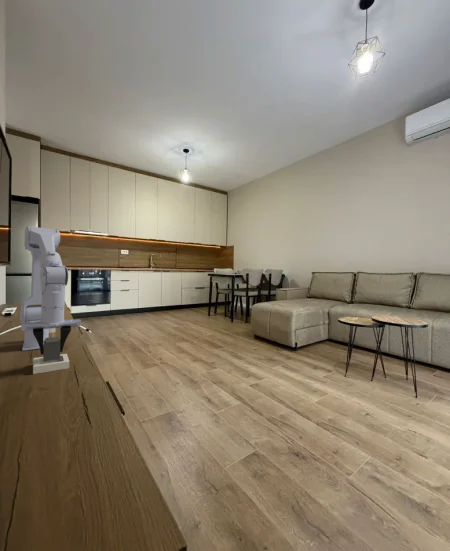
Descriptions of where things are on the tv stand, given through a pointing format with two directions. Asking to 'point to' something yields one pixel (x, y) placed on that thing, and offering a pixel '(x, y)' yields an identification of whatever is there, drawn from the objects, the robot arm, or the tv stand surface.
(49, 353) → the stepped grey plug block
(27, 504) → the tv stand surface
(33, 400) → the tv stand surface
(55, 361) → the socket block
